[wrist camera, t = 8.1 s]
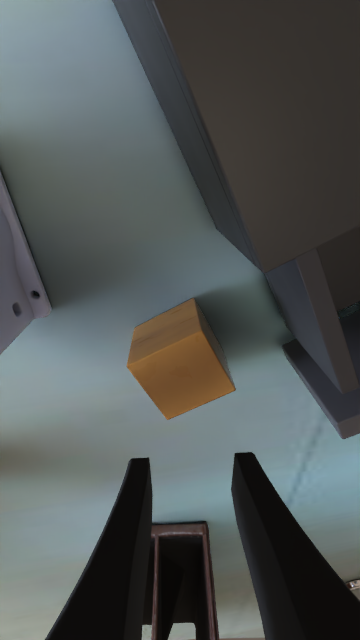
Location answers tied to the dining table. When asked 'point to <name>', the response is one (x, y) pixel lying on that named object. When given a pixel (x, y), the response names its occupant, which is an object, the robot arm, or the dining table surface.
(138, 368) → the block
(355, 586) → the cup with straw
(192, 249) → the dining table surface
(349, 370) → the dark grey drawer
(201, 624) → the letter holder
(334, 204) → the black drawer cabinet
